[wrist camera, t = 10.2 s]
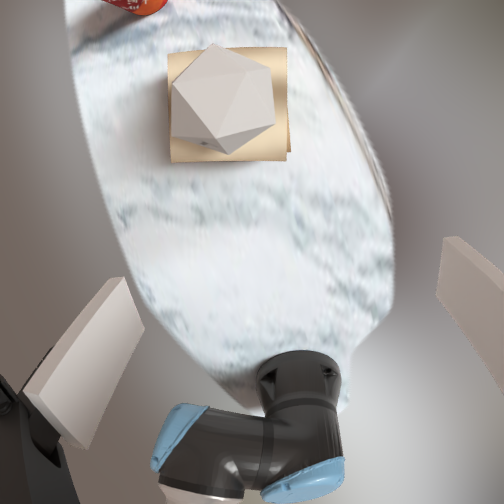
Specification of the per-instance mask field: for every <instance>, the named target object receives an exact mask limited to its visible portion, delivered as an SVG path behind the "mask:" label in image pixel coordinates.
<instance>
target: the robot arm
mask: <svg viewBox="0 0 504 504" xmlns="http://www.w3.org/2000/svg"><path fill="white" fill-rule="evenodd" d="M435 296H436V297H437V298H438V300H439V301H440V302H441V303H442V305H443V306H444V307H445V309H446V310H447V311H448V313H449V314H450V315H451V317H452V318H453V319H454V321H455V322H456V323H457V325H458V326H459V327H460V329H461V330H462V332H463V333H464V335H465V336H466V337H467V339H468V340H469V342H470V343H471V345H472V346H473V347H474V349H475V350H476V352H477V353H478V355H479V356H480V358H481V359H482V361H483V362H484V364H485V366H486V367H487V369H488V370H489V372H490V373H491V375H492V377H493V378H494V380H495V381H496V383H497V384H498V386H499V388H500V390H501V391H502V393H503V395H504V274H503V273H502V272H501V271H500V270H499V269H497V268H496V267H495V266H494V265H493V264H492V263H491V262H489V261H488V260H487V259H486V258H485V257H483V256H482V255H481V254H480V253H479V252H477V251H476V250H475V249H474V248H472V247H471V246H470V245H469V244H467V243H466V242H465V241H463V240H462V239H460V238H459V237H458V236H454V237H446V238H443V246H442V256H441V263H440V271H439V277H438V283H437V290H436V295H435ZM144 330H145V328H144V326H143V324H142V321H141V319H140V316H139V314H138V311H137V309H136V306H135V304H134V301H133V299H132V296H131V294H130V291H129V288H128V285H127V283H126V280H125V277H117V278H110V279H109V280H108V281H107V282H106V283H105V284H104V285H103V287H102V288H101V289H100V290H99V291H98V292H97V294H96V295H95V296H94V297H93V299H92V300H91V301H90V302H89V303H88V305H87V306H86V307H85V308H84V309H83V310H82V312H81V313H80V314H79V315H78V317H77V318H76V319H75V320H74V322H73V323H72V324H71V325H70V327H69V328H68V329H67V330H66V332H65V333H64V335H63V336H62V337H61V338H60V340H59V341H58V342H57V344H56V345H54V346H53V347H52V348H51V349H50V350H49V351H48V352H47V354H46V355H45V356H44V358H43V361H41V362H40V363H39V365H38V366H37V367H38V368H36V369H35V370H34V371H33V373H32V374H31V376H30V377H29V378H28V380H27V381H26V383H25V384H24V386H23V387H22V389H21V390H20V392H19V393H18V394H17V395H16V393H15V392H14V391H13V389H12V388H11V387H10V385H9V384H8V383H7V381H6V380H5V379H4V377H3V376H2V375H1V374H0V504H80V502H79V499H78V496H77V494H76V491H75V488H74V485H73V482H72V479H71V475H70V472H69V469H68V465H67V462H66V458H65V454H64V450H63V448H62V446H61V444H60V443H59V442H58V440H59V438H60V436H62V437H63V438H64V439H65V441H66V442H67V443H68V444H69V445H71V446H74V447H77V448H80V449H84V450H88V448H89V445H90V443H91V441H92V438H93V436H94V434H95V432H96V429H97V427H98V425H99V423H100V421H101V418H102V416H103V414H104V412H105V410H106V407H107V405H108V403H109V401H110V399H111V397H112V395H113V392H114V390H115V388H116V386H117V384H118V382H119V380H120V378H121V376H122V374H123V372H124V370H125V368H126V366H127V364H128V362H129V359H130V357H131V356H132V354H133V351H134V350H135V348H136V346H137V344H138V342H139V340H140V338H141V336H142V334H143V332H144ZM340 388H341V374H340V369H339V367H338V365H337V363H336V362H335V361H334V360H333V359H332V358H330V357H329V356H327V355H324V354H322V353H318V352H313V351H293V352H288V353H284V354H281V355H278V356H276V357H274V358H272V359H270V360H269V361H267V362H266V363H265V364H264V365H263V366H262V367H261V368H260V369H259V371H258V374H257V378H256V391H257V394H258V397H259V400H260V402H261V405H262V408H263V411H264V413H265V417H258V416H251V415H245V414H239V413H234V412H229V411H223V410H218V409H214V408H210V407H209V406H198V405H193V404H187V403H181V404H178V405H176V406H175V407H174V408H173V409H172V410H171V411H170V413H169V414H168V416H167V418H166V420H165V422H164V424H163V426H162V429H161V431H160V433H159V436H158V438H157V441H156V444H155V447H154V450H153V455H152V458H151V462H150V467H151V469H152V470H153V471H154V472H156V473H160V476H159V481H158V485H159V487H160V488H161V489H162V491H163V492H164V493H165V495H166V503H165V504H238V503H240V502H242V501H243V497H244V491H245V489H251V490H259V491H261V492H260V495H261V496H262V499H263V500H264V501H266V502H271V503H277V504H284V503H296V502H302V501H307V500H311V499H315V498H318V497H321V496H324V495H326V494H329V493H331V492H333V491H334V490H336V489H337V488H338V487H340V485H341V484H342V483H343V481H344V461H345V458H344V457H343V451H342V444H341V437H340V431H339V424H338V418H337V412H336V406H337V402H338V397H339V393H340Z"/></svg>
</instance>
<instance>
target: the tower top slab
mask: <svg viewBox="0 0 504 504" xmlns="http://www.w3.org/2000/svg"><path fill="white" fill-rule="evenodd" d="M226 49H228V50H231V51H233V52H235V53H238V54H240V55H242V56H245V57H247V58H249V59H252V60H254V61H256V62H258V63H260V64H262V65H265V66H267V67H269V68H270V71H271V80H272V89H273V99H274V109H275V119H276V124H275V125H273V126H271V127H270V128H268V129H267V130H265V131H264V132H262V133H261V134H259V135H258V136H256V137H255V138H253V139H252V140H250V141H249V142H247V143H246V144H244V145H243V146H241V147H240V148H238V149H237V150H236V151H234V152H233V153H231V154H230V155H227V154H224V153H221V152H218V151H215V150H212V149H209V148H206V147H203V146H200V145H197V144H194V143H191V142H188V141H185V140H182V139H179V138H176V137H172V136H171V94H172V81H173V80H174V79H175V78H176V77H177V76H178V75H179V74H180V73H181V72H182V71H183V70H184V69H185V68H186V67H188V66H189V65H190V64H191V63H192V62H193V61H194V60H195V59H196V58H197V57H198V56H199V55H200V54H201V53H202V52H204V51H205V50H196V51H187V52H179V53H172V54H168V110H169V135H170V153H171V163H178V162H202V161H286V155H287V48H285V47H240V48H226Z"/></svg>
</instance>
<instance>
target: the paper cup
mask: <svg viewBox="0 0 504 504" xmlns="http://www.w3.org/2000/svg"><path fill="white" fill-rule="evenodd" d="M102 1H105V2H108V3H110V4H113V5H115V6H118V7H120V8H122V9H125V10H127V11H129V12H132V13H134V14H137V15H150V14H153V13H155V12H157V11H158V10H160V9H161V8H162V7H163V6H164V5H165V4H166V3H167V1H168V0H102Z"/></svg>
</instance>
